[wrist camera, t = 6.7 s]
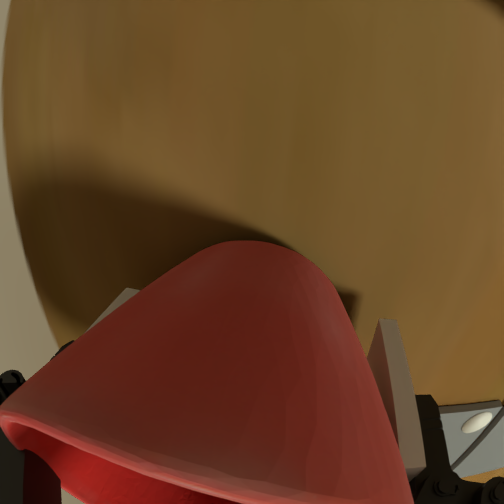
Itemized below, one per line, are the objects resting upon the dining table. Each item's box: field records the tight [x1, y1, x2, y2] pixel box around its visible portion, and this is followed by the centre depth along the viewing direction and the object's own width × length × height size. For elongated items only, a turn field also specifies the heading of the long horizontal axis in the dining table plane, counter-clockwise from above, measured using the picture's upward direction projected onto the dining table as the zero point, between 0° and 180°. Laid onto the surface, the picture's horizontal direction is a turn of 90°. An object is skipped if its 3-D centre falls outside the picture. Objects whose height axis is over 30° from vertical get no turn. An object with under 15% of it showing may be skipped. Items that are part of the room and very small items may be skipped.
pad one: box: [439, 400, 503, 466], centre depth 17 cm, size 12×12×1 cm
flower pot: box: [0, 241, 414, 504], centre depth 9 cm, size 11×11×10 cm
